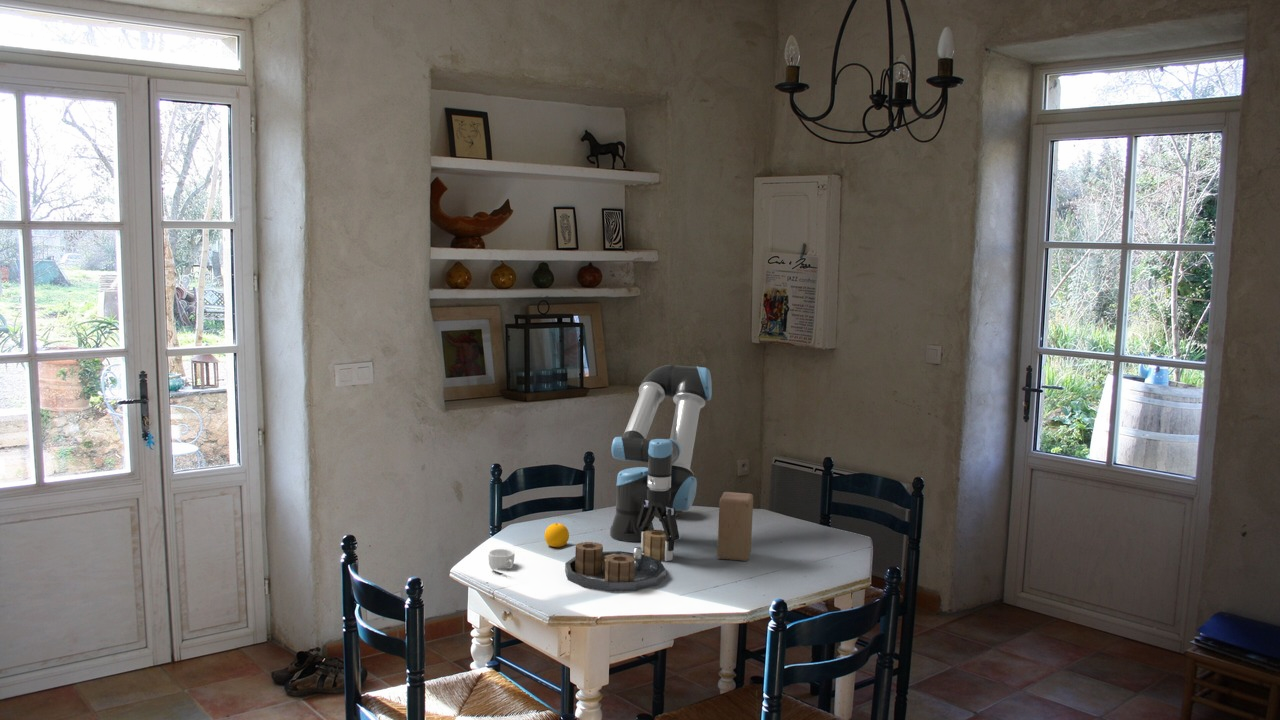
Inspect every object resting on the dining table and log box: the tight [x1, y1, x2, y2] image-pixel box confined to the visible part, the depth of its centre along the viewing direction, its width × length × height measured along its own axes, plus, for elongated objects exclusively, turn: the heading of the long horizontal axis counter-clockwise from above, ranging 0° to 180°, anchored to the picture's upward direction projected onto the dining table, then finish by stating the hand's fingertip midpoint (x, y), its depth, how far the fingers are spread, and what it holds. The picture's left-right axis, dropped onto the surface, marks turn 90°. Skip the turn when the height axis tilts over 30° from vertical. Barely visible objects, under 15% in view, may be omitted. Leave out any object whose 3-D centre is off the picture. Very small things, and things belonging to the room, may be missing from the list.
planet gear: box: [643, 529, 667, 561], centre depth 315 cm, size 8×8×8 cm
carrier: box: [564, 546, 666, 593], centre depth 291 cm, size 29×29×8 cm
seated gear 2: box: [605, 554, 635, 581], centre depth 282 cm, size 8×8×8 cm
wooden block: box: [716, 491, 754, 562], centre depth 317 cm, size 10×10×20 cm
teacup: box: [488, 548, 515, 573], centre depth 295 cm, size 10×8×5 cm
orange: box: [544, 522, 570, 548], centre depth 322 cm, size 8×8×8 cm
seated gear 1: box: [574, 541, 604, 575], centre depth 294 cm, size 8×8×8 cm
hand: (656, 555), depth 315 cm, fingers open, 11 cm apart
